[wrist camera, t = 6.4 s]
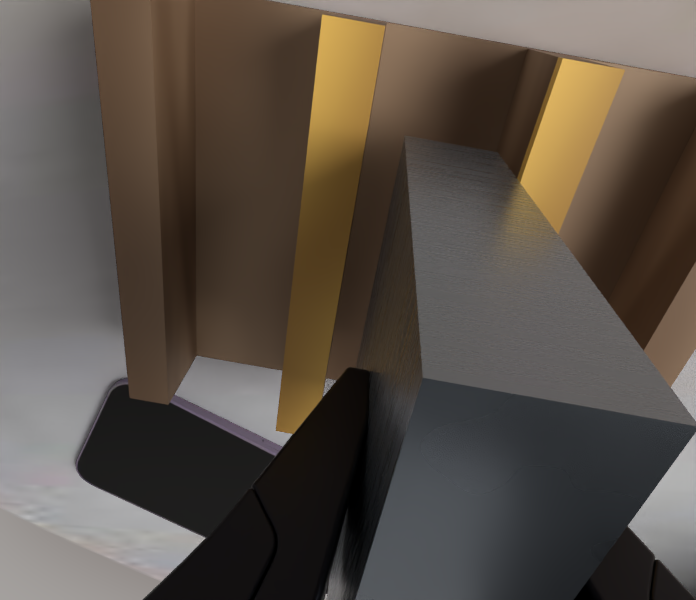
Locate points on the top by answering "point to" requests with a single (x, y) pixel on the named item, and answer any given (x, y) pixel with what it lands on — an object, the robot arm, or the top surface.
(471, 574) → the block
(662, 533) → the top surface
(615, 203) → the rack
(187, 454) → the smartphone
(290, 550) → the robot arm
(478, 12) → the top surface
